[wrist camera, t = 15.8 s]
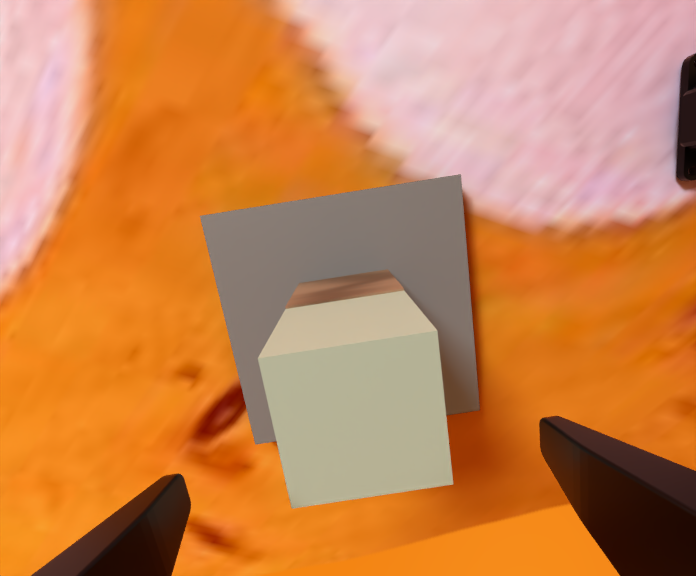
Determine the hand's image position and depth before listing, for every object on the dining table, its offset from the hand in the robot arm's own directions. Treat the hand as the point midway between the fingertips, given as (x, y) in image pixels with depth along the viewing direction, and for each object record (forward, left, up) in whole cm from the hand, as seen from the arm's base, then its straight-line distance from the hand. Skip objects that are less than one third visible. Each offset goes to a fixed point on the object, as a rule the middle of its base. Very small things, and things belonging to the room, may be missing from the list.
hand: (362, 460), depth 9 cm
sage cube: (0, 0, -6) cm, 6 cm away
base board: (0, 0, -13) cm, 13 cm away
